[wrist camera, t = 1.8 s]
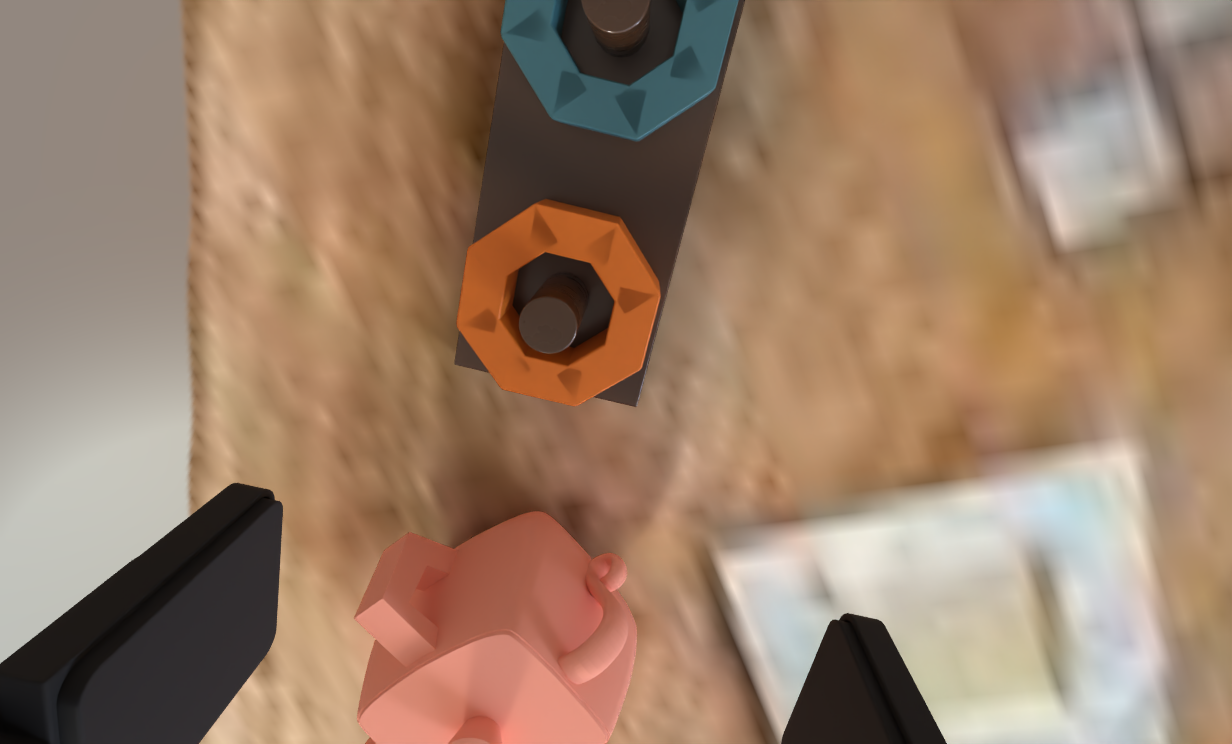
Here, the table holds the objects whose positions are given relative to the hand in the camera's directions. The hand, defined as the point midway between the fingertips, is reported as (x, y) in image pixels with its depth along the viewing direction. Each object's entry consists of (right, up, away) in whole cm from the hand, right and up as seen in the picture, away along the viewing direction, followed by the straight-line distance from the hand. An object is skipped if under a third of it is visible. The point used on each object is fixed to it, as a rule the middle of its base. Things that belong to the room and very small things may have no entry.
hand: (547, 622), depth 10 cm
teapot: (-4, -7, +21) cm, 23 cm away
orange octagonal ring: (-1, +7, +15) cm, 17 cm away
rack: (0, +12, +14) cm, 19 cm away
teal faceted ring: (+1, +16, +12) cm, 20 cm away
